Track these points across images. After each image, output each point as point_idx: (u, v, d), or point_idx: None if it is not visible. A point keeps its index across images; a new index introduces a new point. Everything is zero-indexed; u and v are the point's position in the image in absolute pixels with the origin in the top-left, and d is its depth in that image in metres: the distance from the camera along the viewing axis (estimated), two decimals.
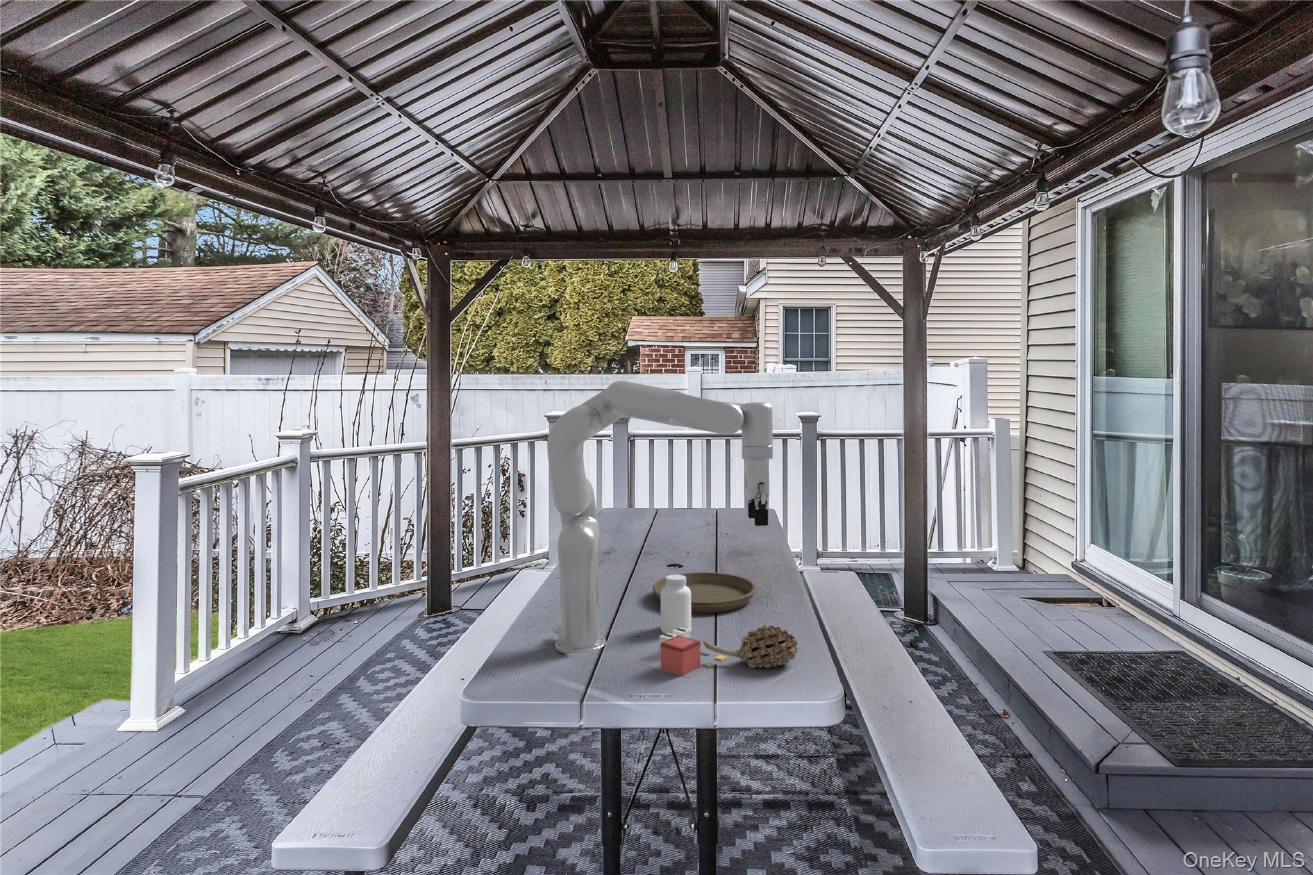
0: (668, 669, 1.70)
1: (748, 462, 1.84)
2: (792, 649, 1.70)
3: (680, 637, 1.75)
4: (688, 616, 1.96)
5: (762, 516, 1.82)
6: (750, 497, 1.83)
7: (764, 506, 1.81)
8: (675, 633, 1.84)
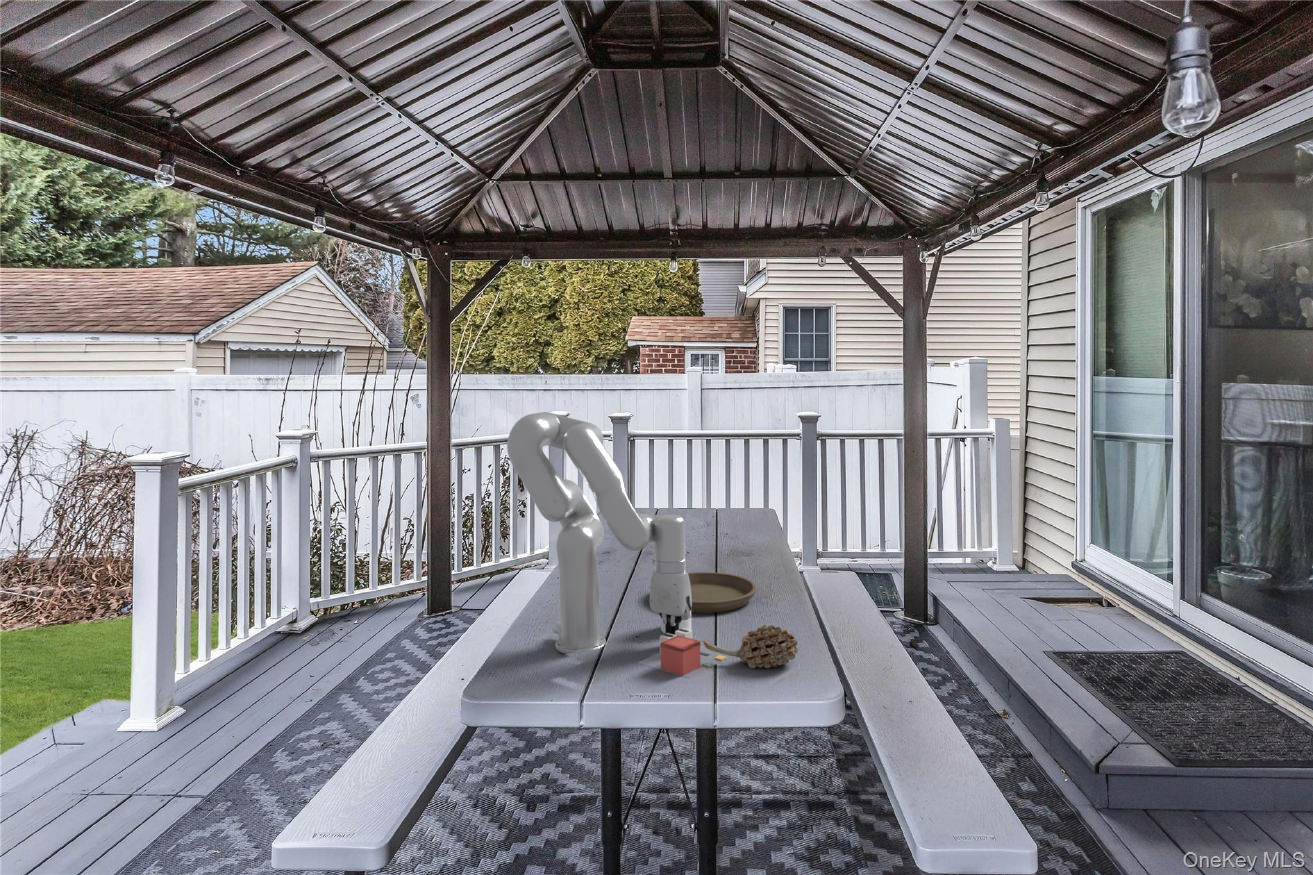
0: (668, 669, 1.70)
1: (671, 578, 1.82)
2: (792, 649, 1.70)
3: (680, 637, 1.75)
4: None
5: None
6: (680, 613, 1.81)
7: (680, 621, 1.85)
8: (678, 634, 1.83)
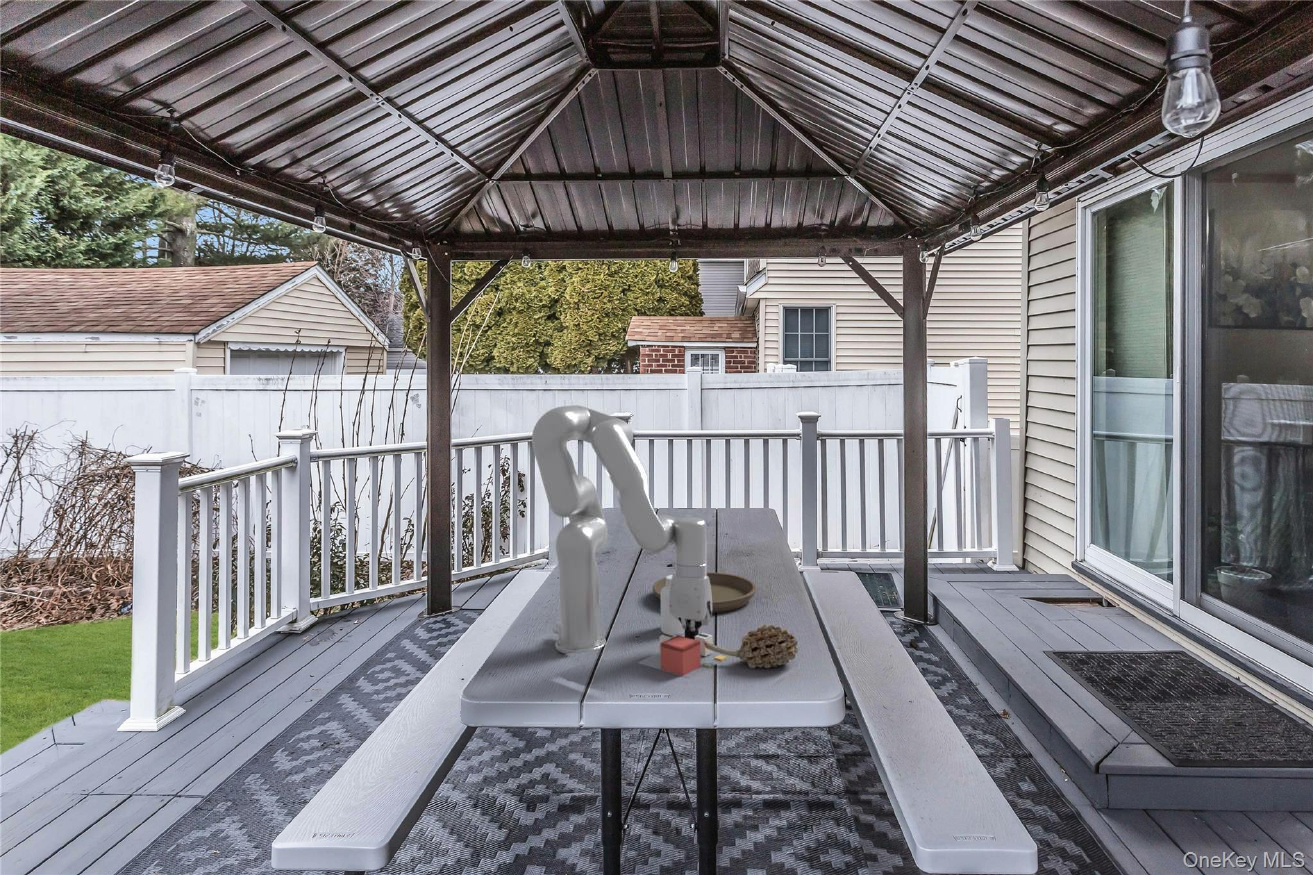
0: (668, 669, 1.70)
1: (692, 582, 1.78)
2: (792, 649, 1.70)
3: (680, 637, 1.75)
4: None
5: None
6: (700, 618, 1.77)
7: (700, 626, 1.81)
8: (697, 639, 1.79)
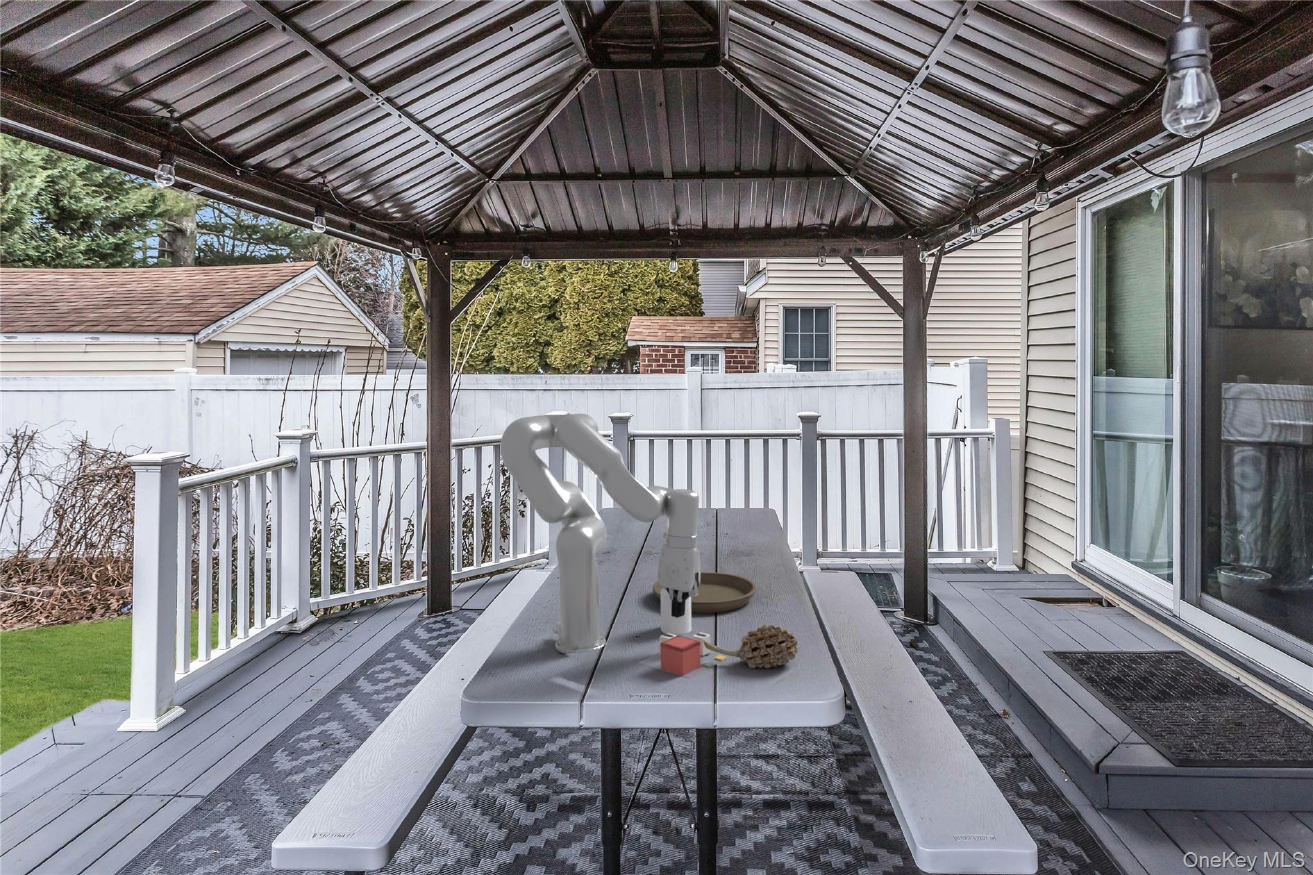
0: (668, 669, 1.70)
1: (681, 553, 1.79)
2: (792, 649, 1.70)
3: (680, 637, 1.75)
4: (688, 616, 1.96)
5: (683, 607, 1.83)
6: (688, 589, 1.78)
7: (687, 597, 1.82)
8: (695, 638, 1.80)
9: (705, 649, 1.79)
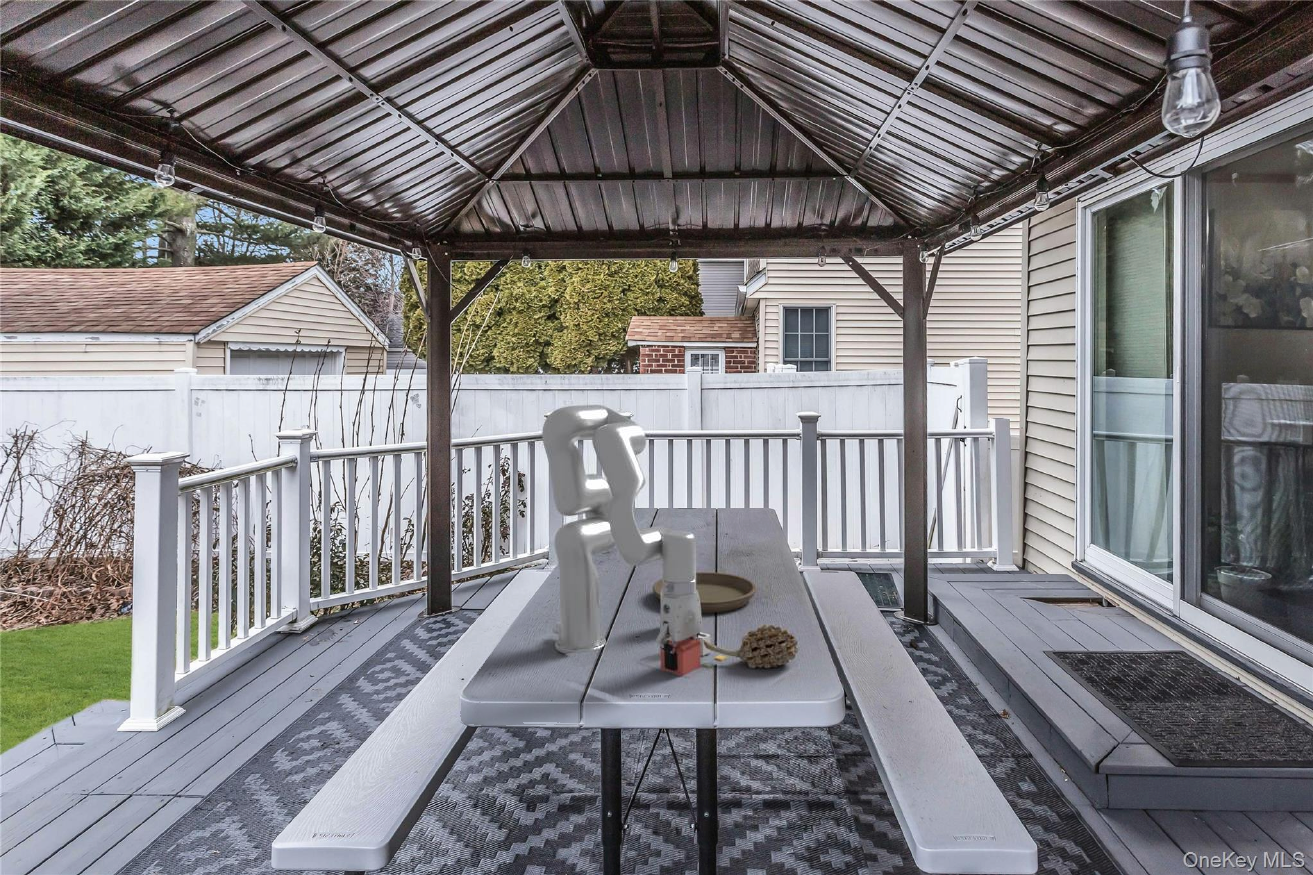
0: (668, 669, 1.70)
1: (694, 595, 1.71)
2: (792, 649, 1.70)
3: None
4: None
5: None
6: None
7: None
8: None
9: (705, 649, 1.79)
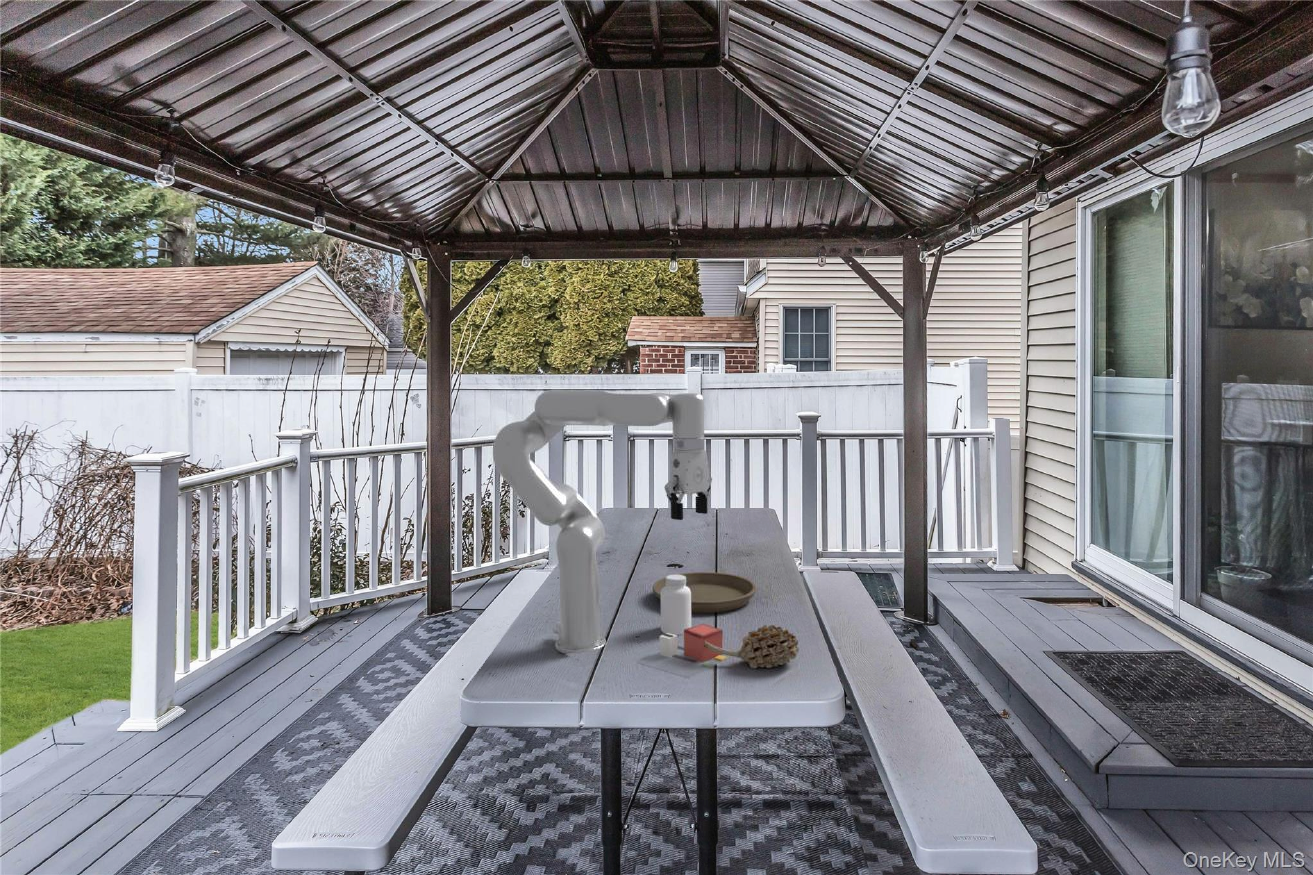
0: (690, 655, 1.79)
1: (702, 453, 1.82)
2: (794, 648, 1.70)
3: (704, 625, 1.83)
4: (688, 616, 1.96)
5: None
6: (709, 486, 1.84)
7: None
8: None
9: None
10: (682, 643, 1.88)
